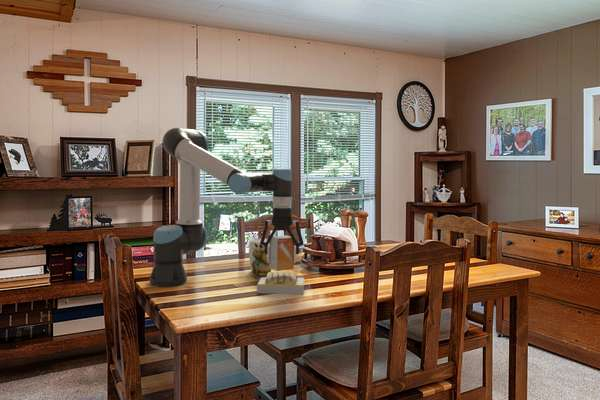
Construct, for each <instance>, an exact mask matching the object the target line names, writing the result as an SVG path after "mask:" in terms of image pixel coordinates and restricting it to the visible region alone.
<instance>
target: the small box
mask: <svg viewBox="0 0 600 400" xmlns="http://www.w3.org/2000/svg"><path fill="white" fill-rule="evenodd" d="M294 246H295V243H294V242H293V240H292V238H291V236H290V235H287V234H286V235H276V236H275V235H274V236H273V237H272V239H271V240H270V262H269V268H270V269H271V271H272V270H273V271H275V272H282V271H289V270H294V268H295V263H294Z"/></svg>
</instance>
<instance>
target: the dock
mask: <svg viewBox="0 0 600 400" xmlns="http://www.w3.org/2000/svg"><path fill="white" fill-rule="evenodd" d="M265 281H266V277H261V278H260V279H259V281H258V282H257V285H256V292H257V294H271V295H272V294H274V295H276V294H277V295H278V294H279V295H284V294H285V295H304V291H305V290H304V288H305V277H297V280H296V284H265Z"/></svg>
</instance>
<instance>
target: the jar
mask: <svg viewBox="0 0 600 400" xmlns="http://www.w3.org/2000/svg"><path fill="white" fill-rule="evenodd" d="M261 238H262V237H260V238H258V237H257V238H250V239H249V240H248V242H249V247H248V257H249V264H250V267H251V269H250V272H251V273H252V271H253V270H252V269H253V267H252V262H253V261H254V260H256V258H254V256H253V255H252V253H253V251H254V248H256V247H255V243H257V244H258V245H260V242H261ZM267 240H268V238H265V240H264V242H266V241H267ZM268 246H270V242H269V244H268Z"/></svg>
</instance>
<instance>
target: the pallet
mask: <svg viewBox="0 0 600 400" xmlns="http://www.w3.org/2000/svg"><path fill="white" fill-rule="evenodd" d="M297 278H298V275H297V272H290V271H289V272H283V271H275V272H273V271H271V272H268V275H267V277H266V281H265V284H296V280H297Z"/></svg>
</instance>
